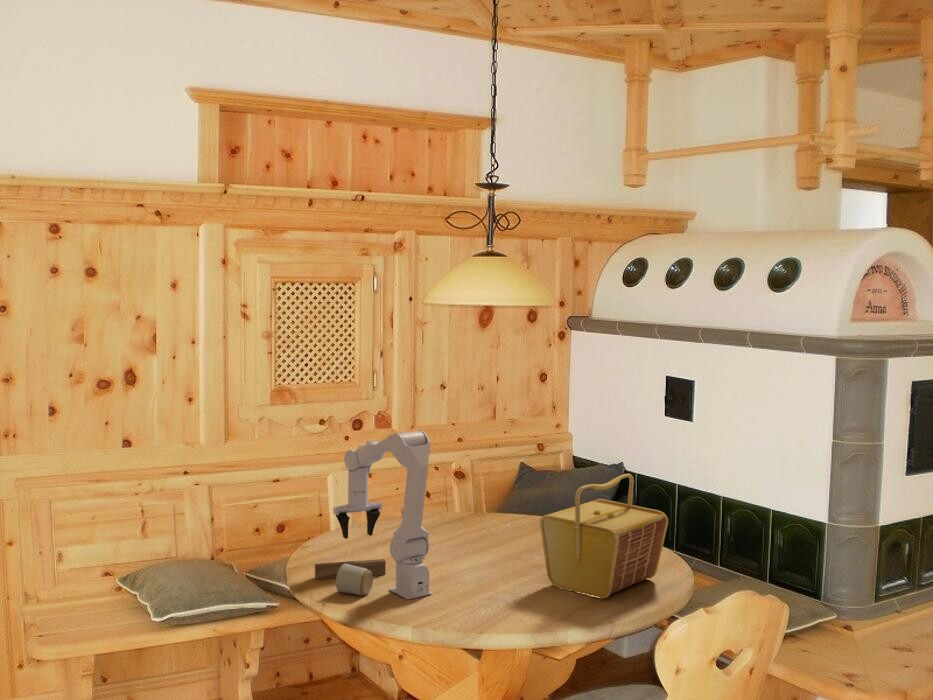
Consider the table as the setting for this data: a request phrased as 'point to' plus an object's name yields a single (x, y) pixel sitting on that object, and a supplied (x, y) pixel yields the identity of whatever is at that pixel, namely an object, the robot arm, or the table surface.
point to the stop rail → (332, 568)
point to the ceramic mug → (354, 580)
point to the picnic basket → (602, 543)
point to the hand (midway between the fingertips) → (357, 536)
